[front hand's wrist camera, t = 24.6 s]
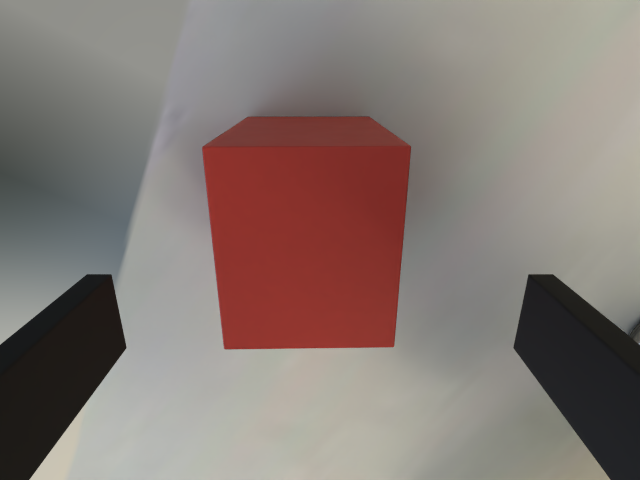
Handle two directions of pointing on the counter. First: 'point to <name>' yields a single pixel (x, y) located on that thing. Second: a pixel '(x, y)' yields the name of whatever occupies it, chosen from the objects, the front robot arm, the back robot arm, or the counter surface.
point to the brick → (307, 231)
